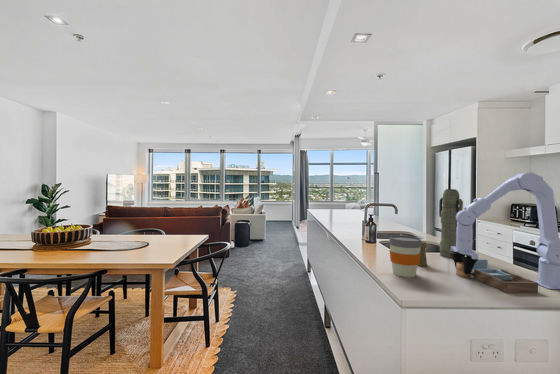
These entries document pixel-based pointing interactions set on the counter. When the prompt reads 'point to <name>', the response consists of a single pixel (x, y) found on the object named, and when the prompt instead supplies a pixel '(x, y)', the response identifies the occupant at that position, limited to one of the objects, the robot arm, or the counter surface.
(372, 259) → the counter surface
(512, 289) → the caddy
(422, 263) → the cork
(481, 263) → the tray
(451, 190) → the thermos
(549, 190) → the robot arm
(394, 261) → the reusable coffee cup
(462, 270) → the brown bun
